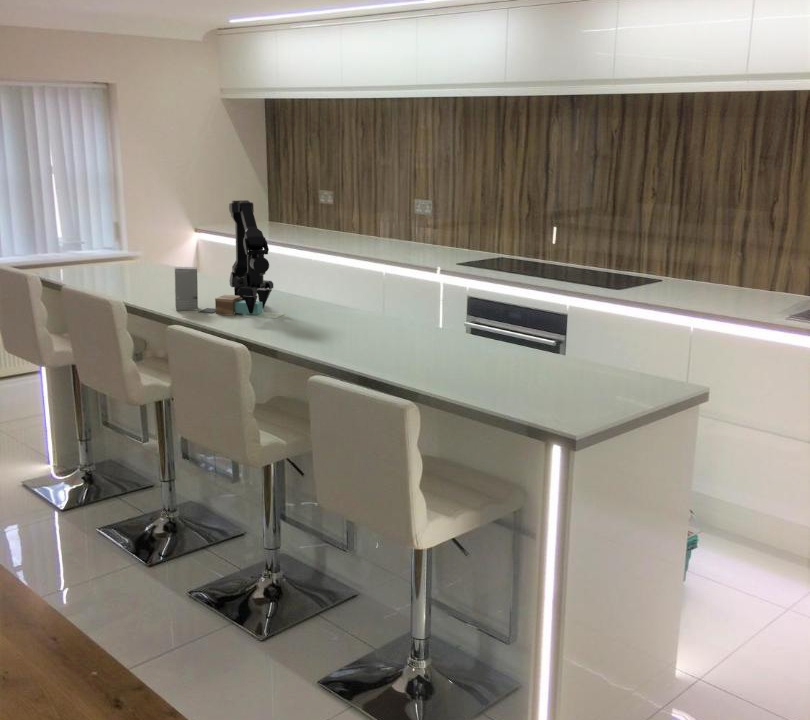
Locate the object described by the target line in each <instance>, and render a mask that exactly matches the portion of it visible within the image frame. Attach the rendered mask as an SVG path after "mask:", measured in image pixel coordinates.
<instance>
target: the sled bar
mask: <svg viewBox="0 0 810 720" xmlns="http://www.w3.org/2000/svg"><path fill="white" fill-rule="evenodd" d="M234 310H235V314H243V315H245V314H250V313H249V310H248V307H247V305H246V302H245V300H237V301H235V302H234ZM263 312H264V308H263V302H259V300H258V301H257V300H256V303H255V307H254V311H253V313H252V314H255V315H258V314H260V313H263Z"/></svg>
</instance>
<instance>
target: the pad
mask: <svg viewBox="0 0 810 720" xmlns="http://www.w3.org/2000/svg"><path fill="white" fill-rule="evenodd" d="M284 315H285V313H282V312H281V313H279V312H278V313H277V312H265V311H263V313H260V314H258V315H255V314H243V315H242V316H243V317H251V318H252V317H253V318H262V319H263V318H264V319H278V318H280V317H282V316H284Z"/></svg>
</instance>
